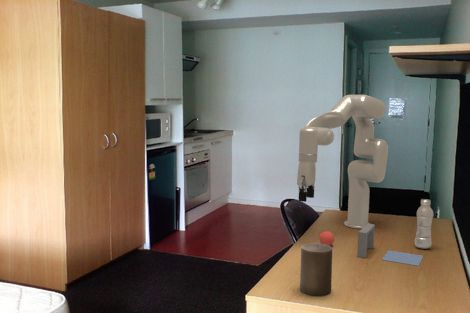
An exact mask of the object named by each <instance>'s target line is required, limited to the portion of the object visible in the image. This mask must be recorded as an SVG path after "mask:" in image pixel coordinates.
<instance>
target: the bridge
mask: <svg viewBox="0 0 470 313" xmlns="http://www.w3.org/2000/svg"><path fill="white" fill-rule="evenodd" d="M375 230H376V225H375V224H373V223H371V224H366V225H365V226H364V227H363V228H362V229H360V230H359V231H358V234H357V254H356V256H357V258H362V259H366V257H367V255H368V254H367V250H368V249H371V250H373V249H374V246H375Z"/></svg>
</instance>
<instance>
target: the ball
mask: <svg viewBox="0 0 470 313" xmlns="http://www.w3.org/2000/svg"><path fill="white" fill-rule="evenodd" d="M318 239H319V244H325V245H329V246H331V245H333V244H334V242H335V236H334V234H333V233H332V232H330V231H328V230H325V231H323V232H321V233H320V234H319V237H318Z"/></svg>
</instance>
